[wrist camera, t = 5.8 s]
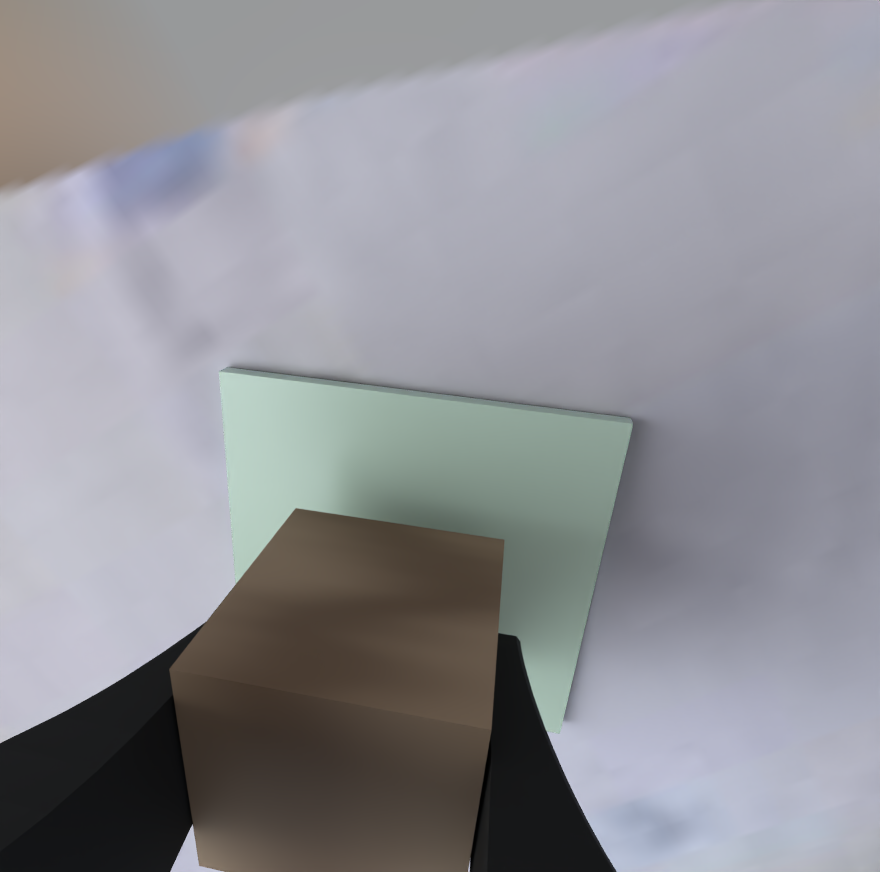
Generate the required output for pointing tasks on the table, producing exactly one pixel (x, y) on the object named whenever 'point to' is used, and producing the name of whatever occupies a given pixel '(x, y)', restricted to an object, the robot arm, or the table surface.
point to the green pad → (438, 489)
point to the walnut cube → (343, 700)
